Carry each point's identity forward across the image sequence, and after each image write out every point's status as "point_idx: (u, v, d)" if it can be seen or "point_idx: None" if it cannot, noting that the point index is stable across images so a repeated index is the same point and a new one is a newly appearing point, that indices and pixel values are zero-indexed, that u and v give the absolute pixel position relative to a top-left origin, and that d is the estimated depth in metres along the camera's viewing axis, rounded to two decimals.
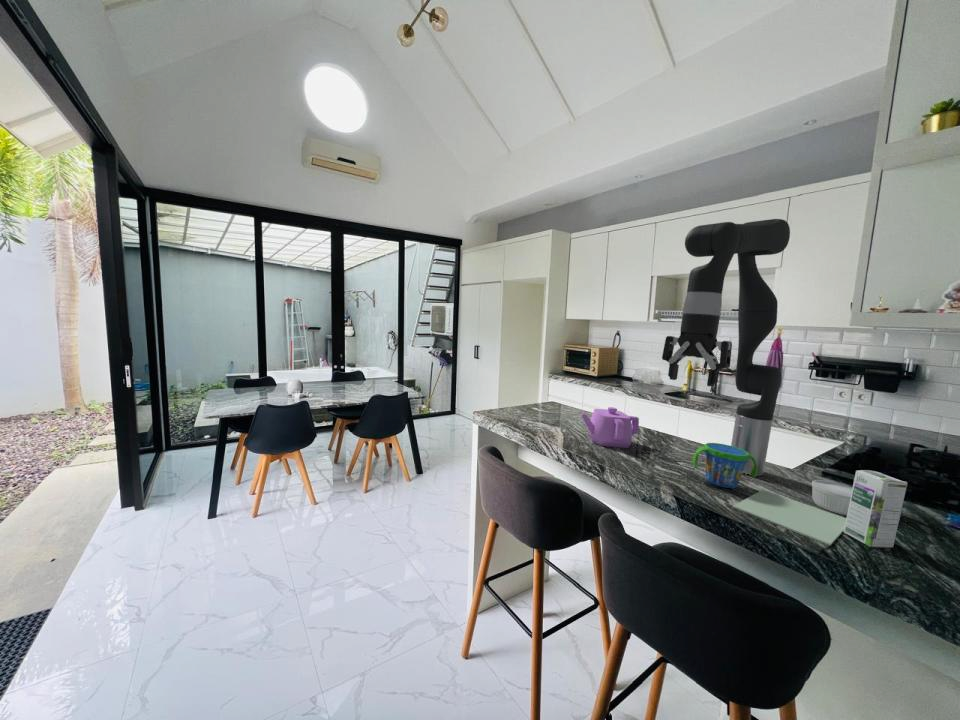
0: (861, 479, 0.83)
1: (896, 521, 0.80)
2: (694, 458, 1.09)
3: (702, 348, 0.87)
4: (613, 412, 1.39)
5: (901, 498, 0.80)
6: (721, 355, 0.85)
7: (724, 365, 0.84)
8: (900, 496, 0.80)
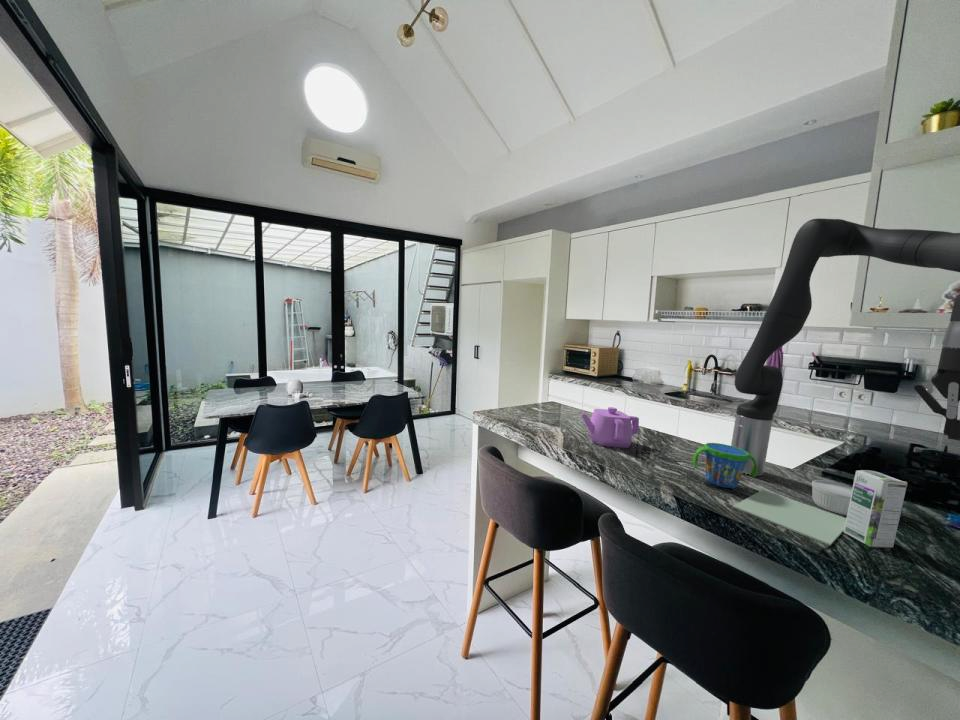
0: (861, 479, 0.83)
1: (896, 520, 0.80)
2: (694, 458, 1.09)
3: None
4: (613, 412, 1.39)
5: (901, 498, 0.80)
6: None
7: None
8: (900, 496, 0.80)
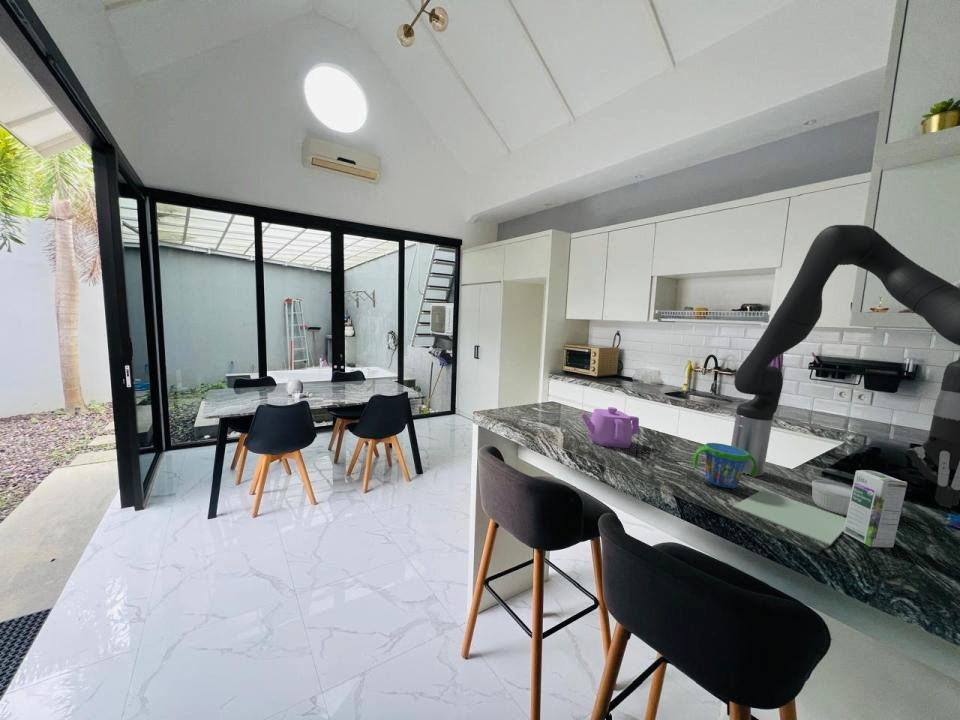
0: (861, 479, 0.83)
1: (896, 520, 0.80)
2: (694, 458, 1.09)
3: None
4: (613, 412, 1.39)
5: (901, 498, 0.80)
6: None
7: None
8: (900, 496, 0.80)
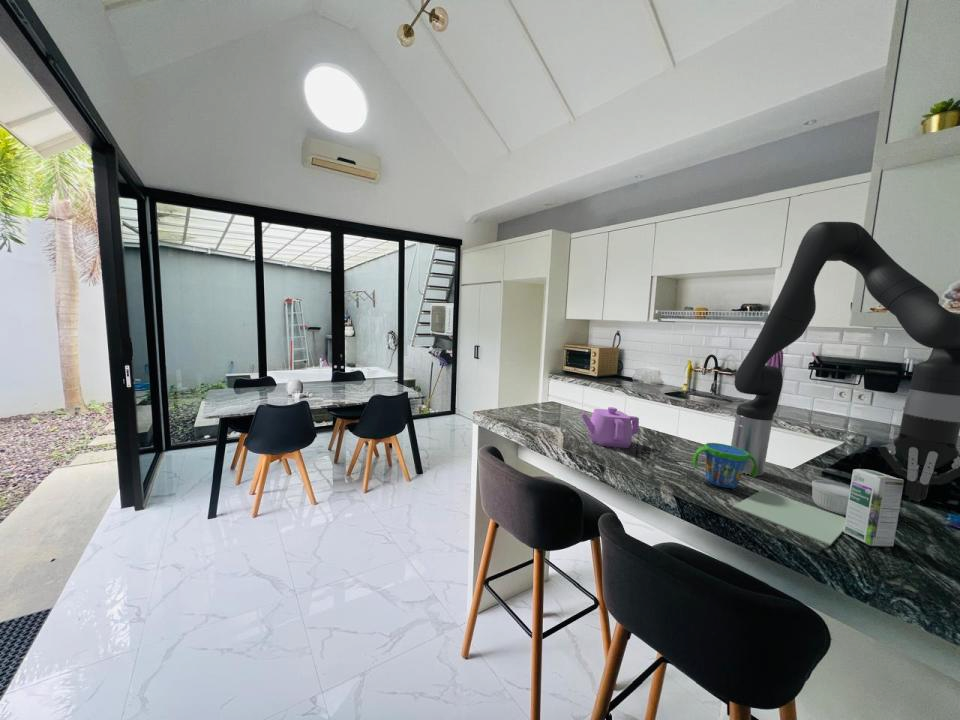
0: (858, 478, 0.84)
1: (895, 519, 0.80)
2: (694, 458, 1.09)
3: (933, 460, 0.75)
4: (613, 412, 1.39)
5: (899, 496, 0.80)
6: (949, 473, 0.74)
7: (941, 483, 0.74)
8: (898, 494, 0.80)
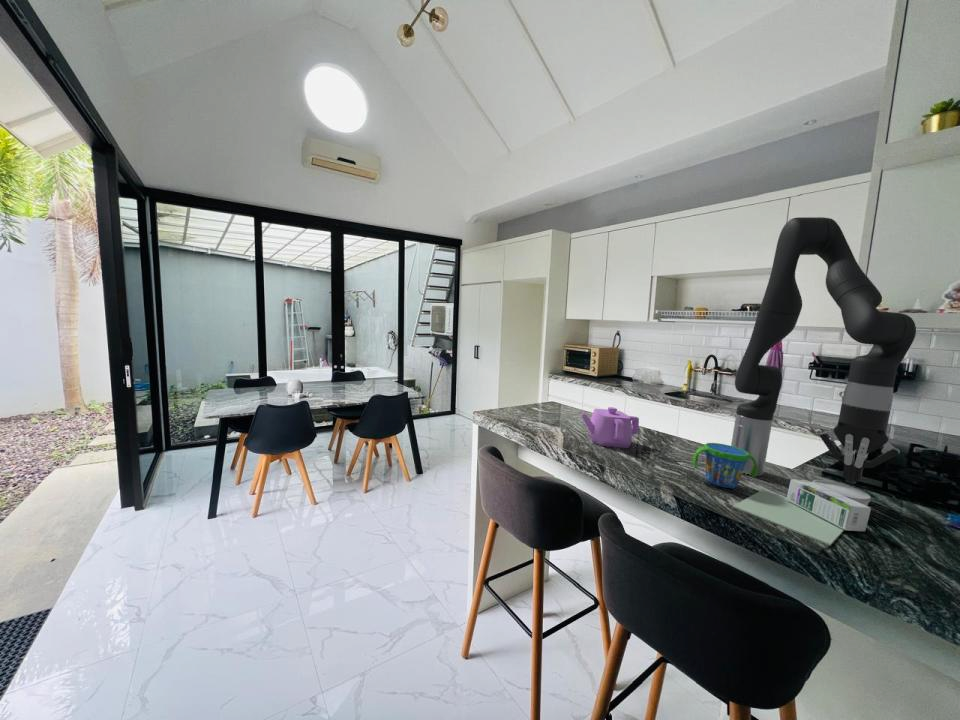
0: (792, 496, 0.98)
1: (841, 495, 0.91)
2: (694, 458, 1.09)
3: (866, 445, 0.82)
4: (613, 412, 1.39)
5: (819, 486, 0.96)
6: (879, 458, 0.81)
7: (872, 466, 0.82)
8: (817, 485, 0.96)
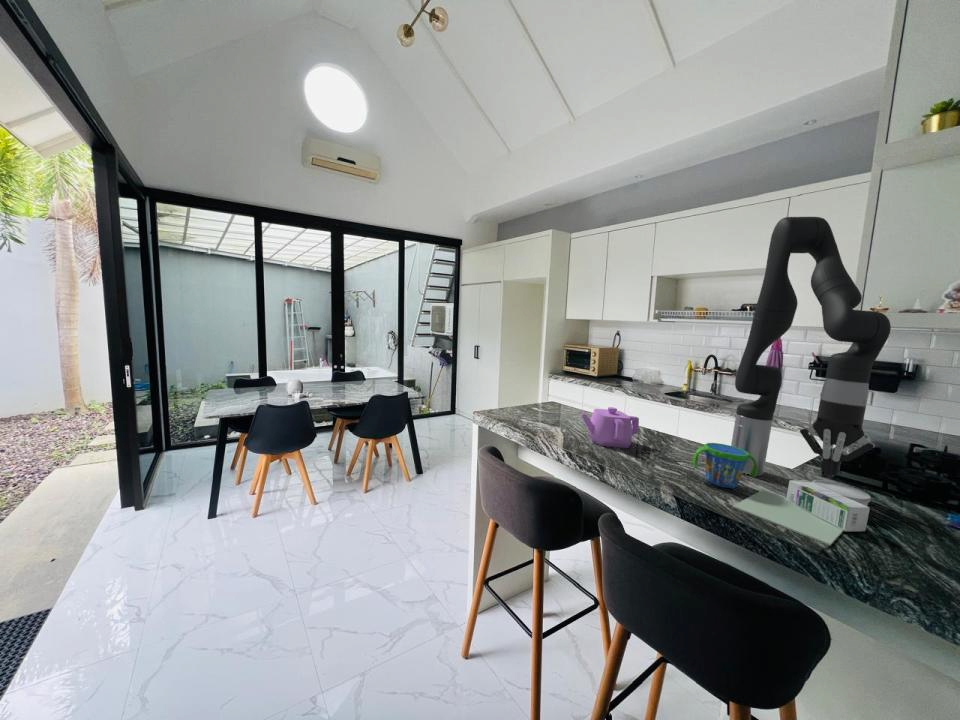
0: (791, 498, 0.98)
1: (839, 495, 0.91)
2: (694, 458, 1.09)
3: (843, 440, 0.85)
4: (613, 412, 1.39)
5: (818, 486, 0.96)
6: (855, 451, 0.84)
7: (849, 460, 0.85)
8: (816, 485, 0.96)
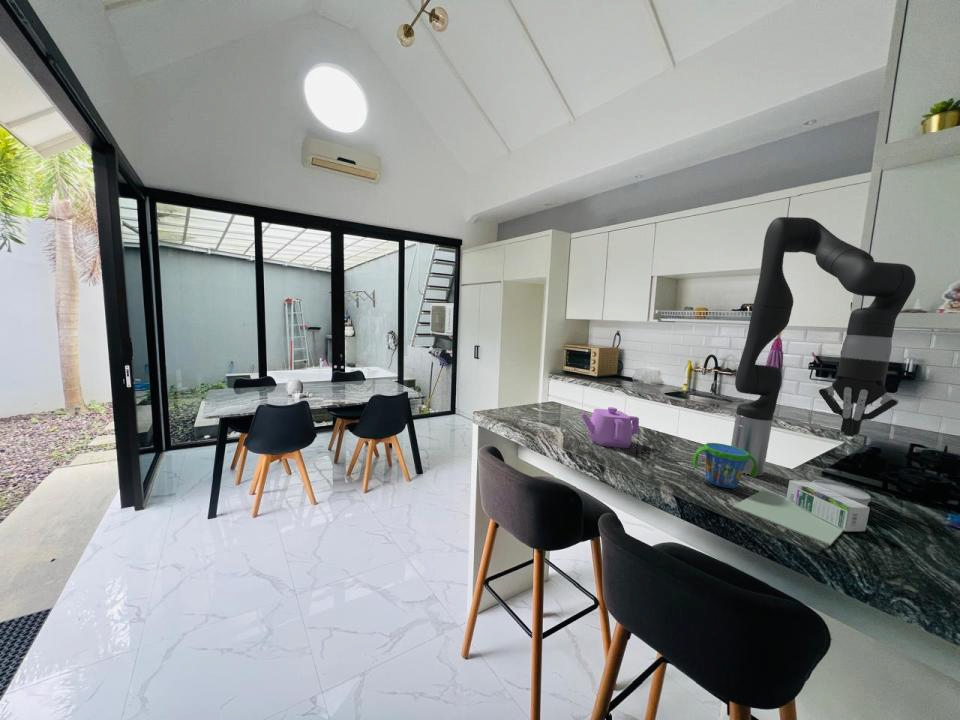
0: (791, 498, 0.98)
1: (839, 495, 0.91)
2: (694, 458, 1.09)
3: (864, 397, 0.82)
4: (613, 412, 1.39)
5: (818, 486, 0.96)
6: (877, 409, 0.81)
7: (870, 418, 0.82)
8: (816, 485, 0.96)
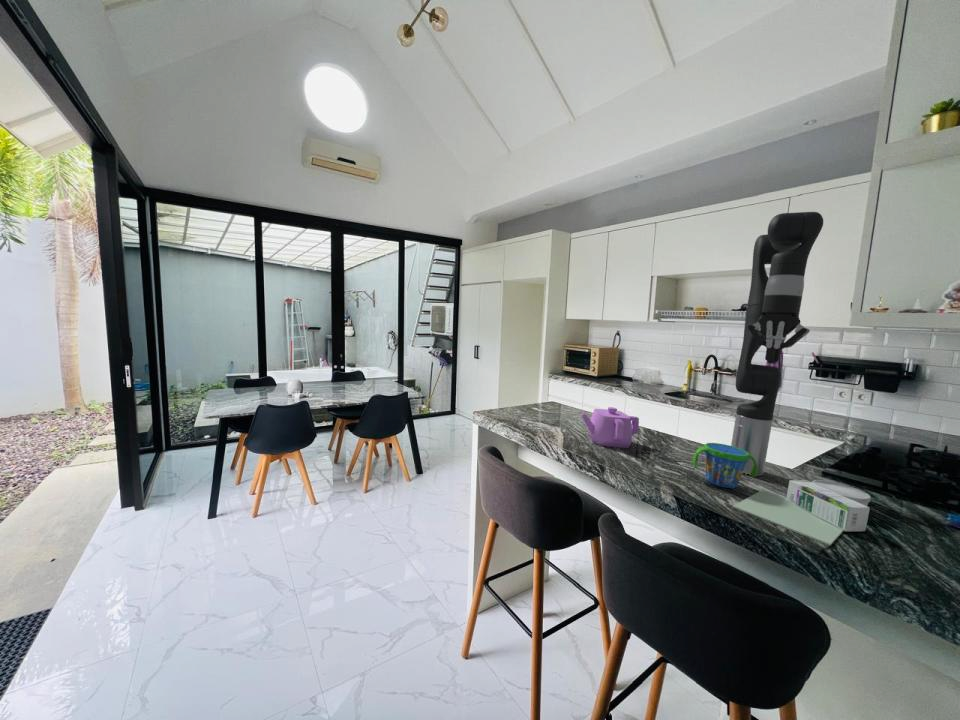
0: (791, 498, 0.98)
1: (839, 495, 0.91)
2: (694, 458, 1.09)
3: (782, 328, 0.96)
4: (613, 412, 1.39)
5: (818, 486, 0.96)
6: (792, 337, 0.95)
7: (787, 345, 0.96)
8: (816, 485, 0.96)
